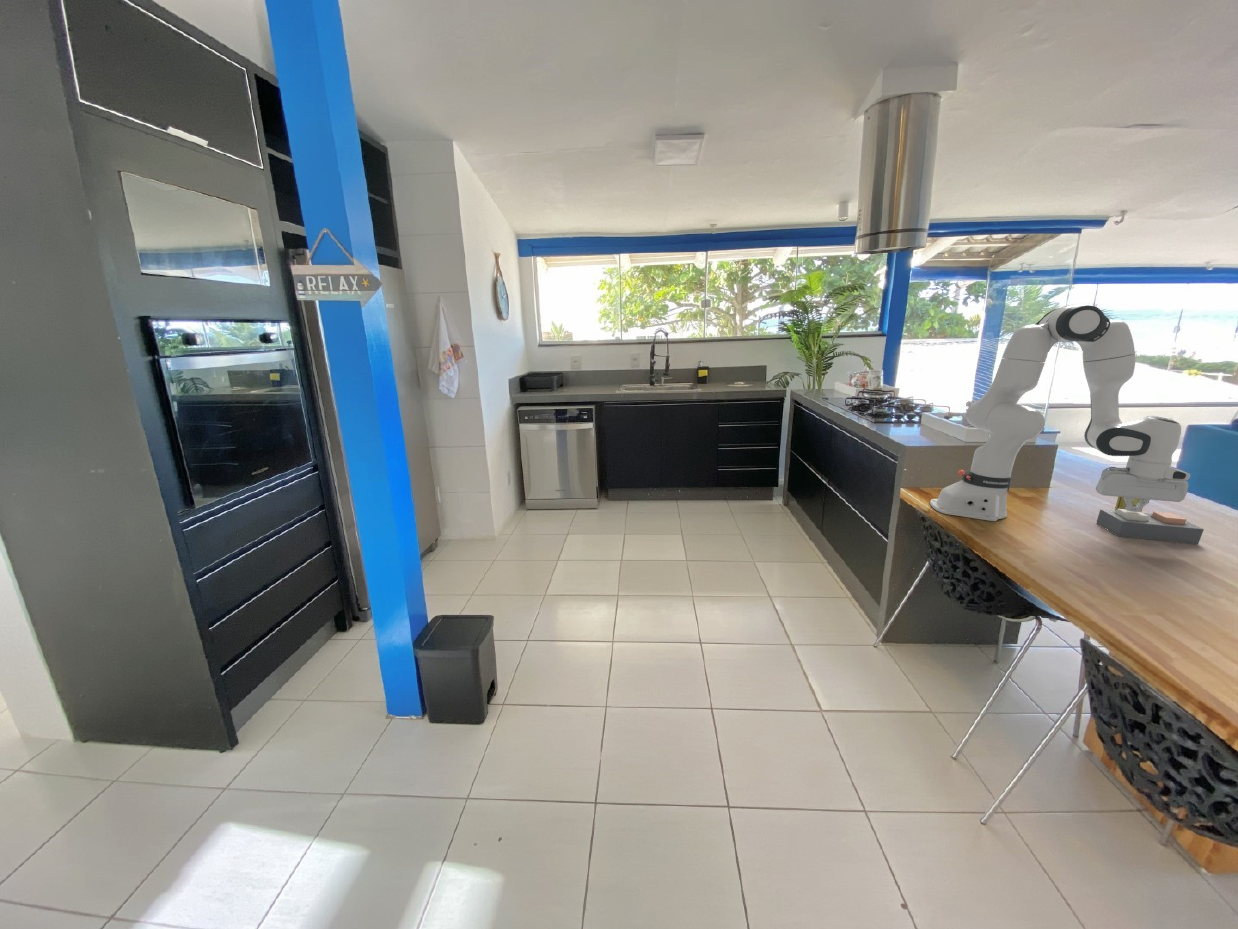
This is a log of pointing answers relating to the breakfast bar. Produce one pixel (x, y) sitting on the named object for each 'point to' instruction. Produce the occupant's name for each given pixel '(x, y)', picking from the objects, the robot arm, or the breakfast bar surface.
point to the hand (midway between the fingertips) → (1132, 511)
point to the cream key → (1132, 515)
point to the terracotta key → (1168, 518)
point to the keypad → (1149, 528)
